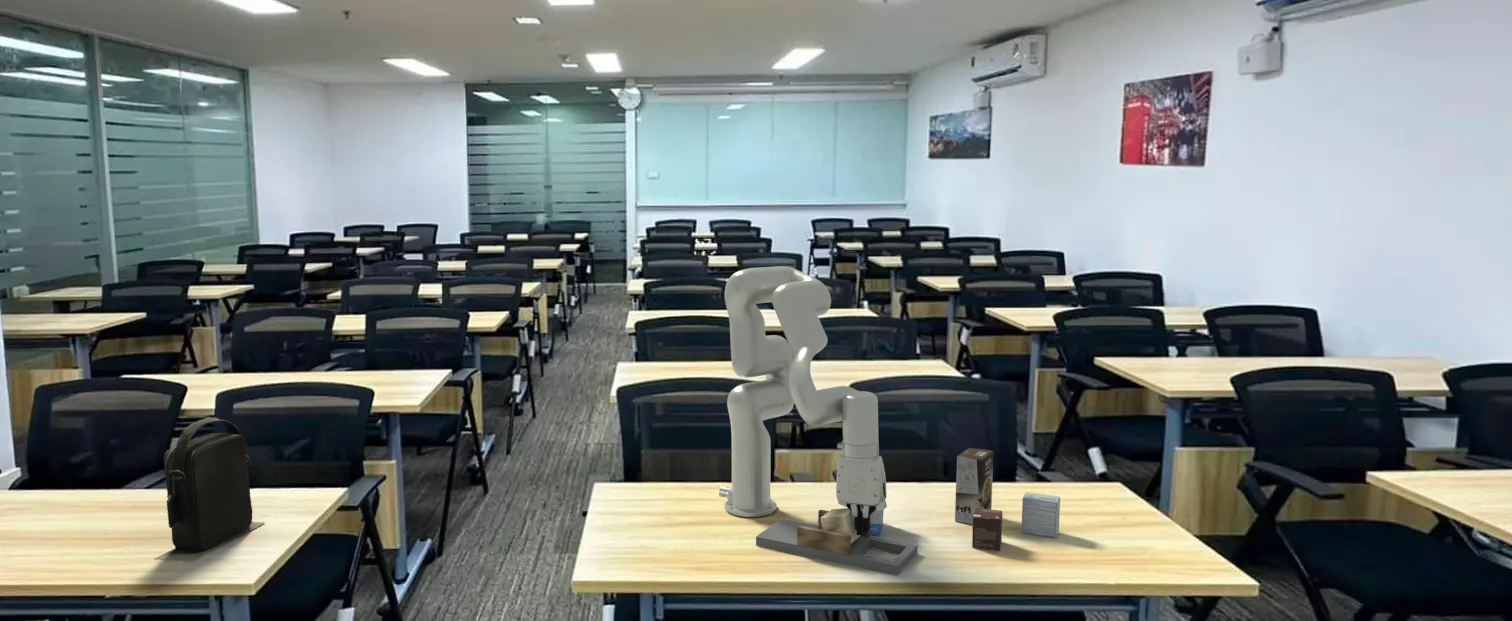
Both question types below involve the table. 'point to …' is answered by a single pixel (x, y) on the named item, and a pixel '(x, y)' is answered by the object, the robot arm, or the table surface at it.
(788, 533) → the deck
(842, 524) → the maple block
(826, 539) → the tunnel walls
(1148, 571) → the table surface
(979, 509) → the box
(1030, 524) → the medicine box
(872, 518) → the ink box
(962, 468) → the coffee box
